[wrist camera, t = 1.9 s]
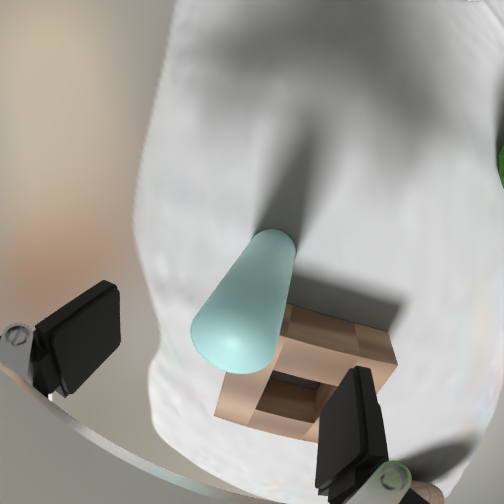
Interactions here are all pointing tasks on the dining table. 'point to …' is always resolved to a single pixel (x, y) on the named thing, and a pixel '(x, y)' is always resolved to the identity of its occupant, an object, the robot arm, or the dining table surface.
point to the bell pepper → (501, 164)
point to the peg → (247, 306)
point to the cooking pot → (428, 492)
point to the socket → (304, 373)
